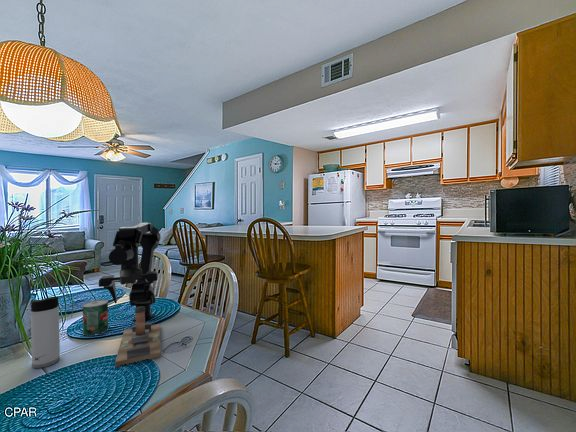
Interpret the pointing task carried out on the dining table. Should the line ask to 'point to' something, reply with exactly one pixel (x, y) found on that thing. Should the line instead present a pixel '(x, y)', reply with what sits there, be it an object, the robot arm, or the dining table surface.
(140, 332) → the handle
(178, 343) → the dining table surface
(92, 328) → the canned tomato
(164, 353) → the dining table surface
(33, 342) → the travel mug
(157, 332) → the press base
